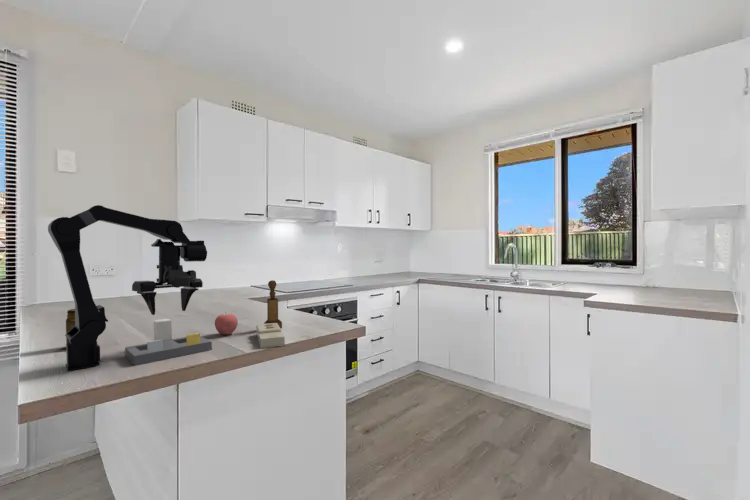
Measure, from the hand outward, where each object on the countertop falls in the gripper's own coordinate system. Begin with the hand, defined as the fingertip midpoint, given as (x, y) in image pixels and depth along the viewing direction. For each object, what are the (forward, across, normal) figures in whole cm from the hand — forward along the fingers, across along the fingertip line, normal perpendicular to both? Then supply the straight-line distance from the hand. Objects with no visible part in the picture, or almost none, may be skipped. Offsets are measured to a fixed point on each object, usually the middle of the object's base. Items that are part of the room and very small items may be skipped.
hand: (169, 312), depth 115 cm
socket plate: (+11, -2, -4) cm, 12 cm away
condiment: (+12, -15, +27) cm, 33 cm away
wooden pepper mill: (+10, +35, -6) cm, 37 cm away
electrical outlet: (+11, +24, -18) cm, 32 cm away
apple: (+11, +21, +1) cm, 23 cm away
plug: (+11, +1, +6) cm, 13 cm away
